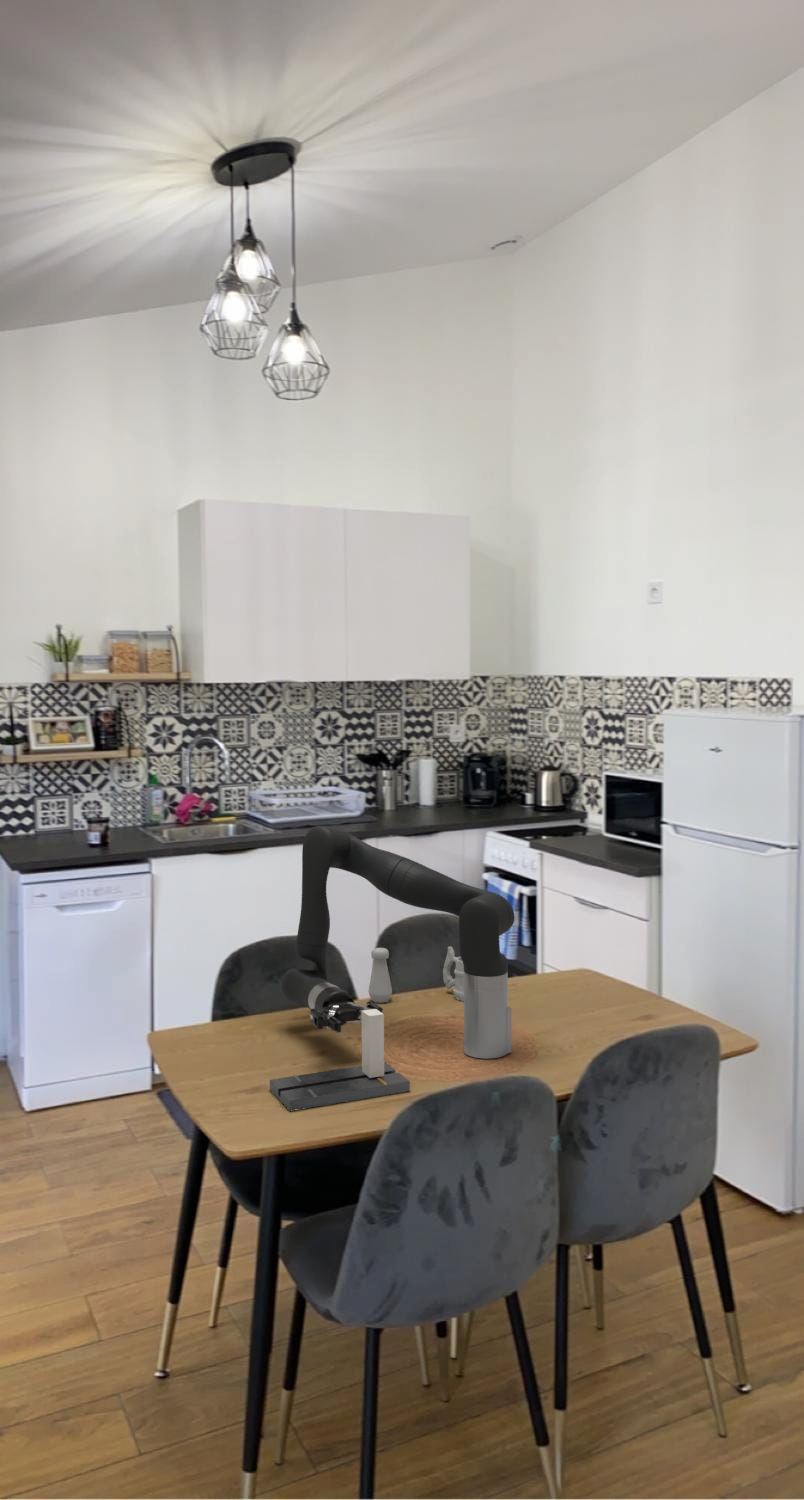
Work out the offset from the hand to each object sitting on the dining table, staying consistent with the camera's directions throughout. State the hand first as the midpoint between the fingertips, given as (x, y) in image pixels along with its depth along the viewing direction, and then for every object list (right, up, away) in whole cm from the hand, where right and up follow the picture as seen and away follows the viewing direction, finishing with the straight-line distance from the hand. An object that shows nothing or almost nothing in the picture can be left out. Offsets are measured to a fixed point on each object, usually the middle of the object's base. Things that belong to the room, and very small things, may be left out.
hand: (359, 1024), depth 221 cm
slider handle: (+3, -9, -6) cm, 11 cm away
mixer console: (-3, -11, -9) cm, 14 cm away
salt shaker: (+3, -7, +52) cm, 53 cm away
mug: (+23, -7, +56) cm, 61 cm away
